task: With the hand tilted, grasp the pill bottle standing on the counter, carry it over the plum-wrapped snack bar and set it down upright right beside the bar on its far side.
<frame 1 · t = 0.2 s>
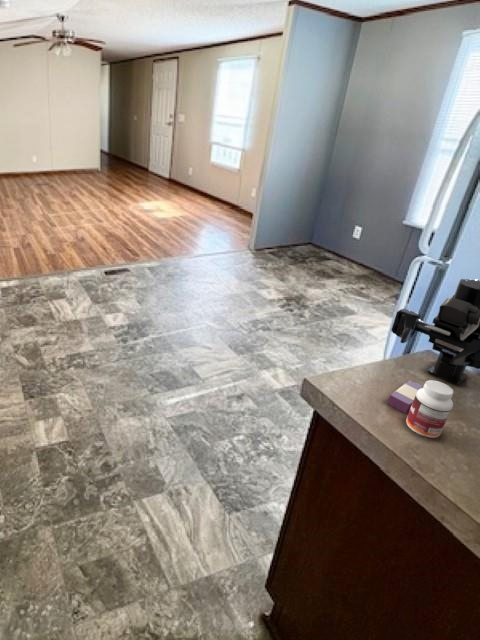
hand: (425, 350, 89), 17 cm above the countertop, tool horizontal, fingers open, 9 cm apart
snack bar: (406, 400, 99), on the countertop
pill bottle: (422, 428, 91), on the countertop
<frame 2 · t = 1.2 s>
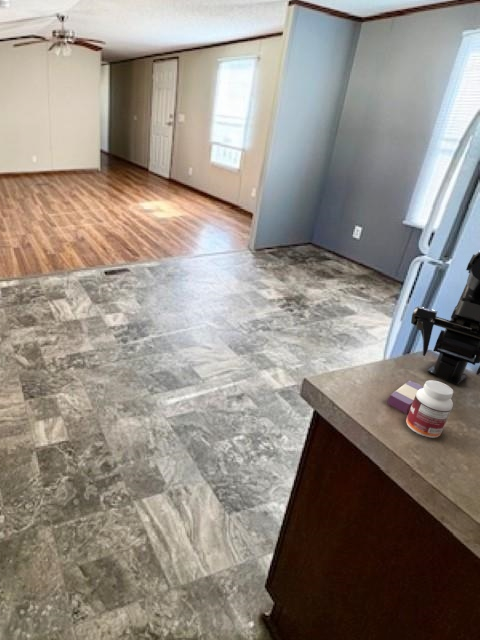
hand: (449, 364, 90), 13 cm above the countertop, tool tilted 45°, fingers open, 9 cm apart
nothing on the countertop moved.
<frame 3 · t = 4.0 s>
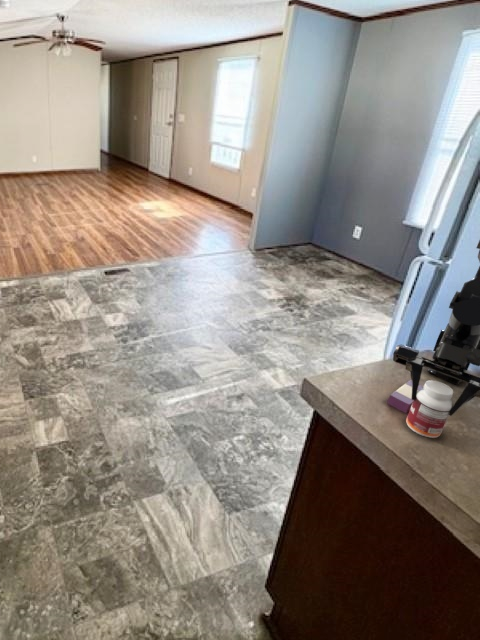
hand: (430, 407, 87), 7 cm above the countertop, tool tilted 45°, fingers closed on pill bottle, 6 cm apart
pill bottle: (422, 428, 91), on the countertop, touching gripper
everything else where it was.
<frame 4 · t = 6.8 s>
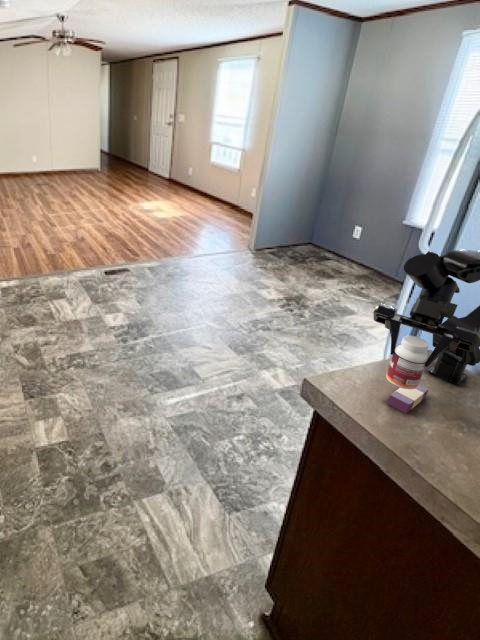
hand: (408, 360, 93), 12 cm above the countertop, tool tilted 45°, fingers closed on pill bottle, 6 cm apart
pill bottle: (400, 382, 97), point 6 cm above the countertop, touching gripper
everything else where it was.
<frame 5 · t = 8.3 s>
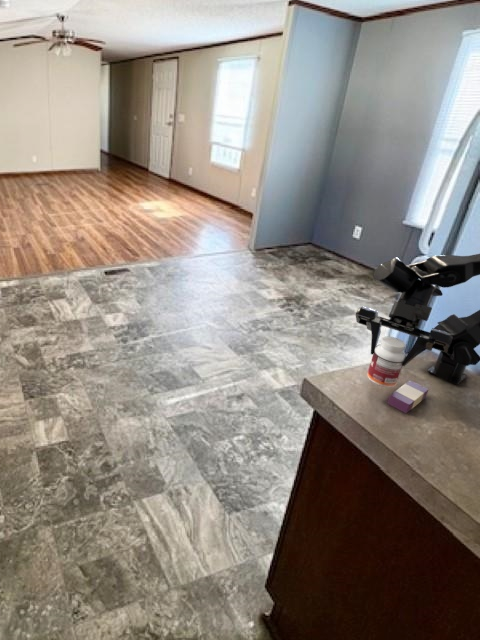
hand: (386, 359, 99), 9 cm above the countertop, tool tilted 45°, fingers closed on pill bottle, 6 cm apart
pill bottle: (380, 380, 102), point 2 cm above the countertop, touching gripper
everything else where it was.
when the fingers open (7 cm above the countertop, at t = 9.6 s): pill bottle stays where it is, on the countertop.
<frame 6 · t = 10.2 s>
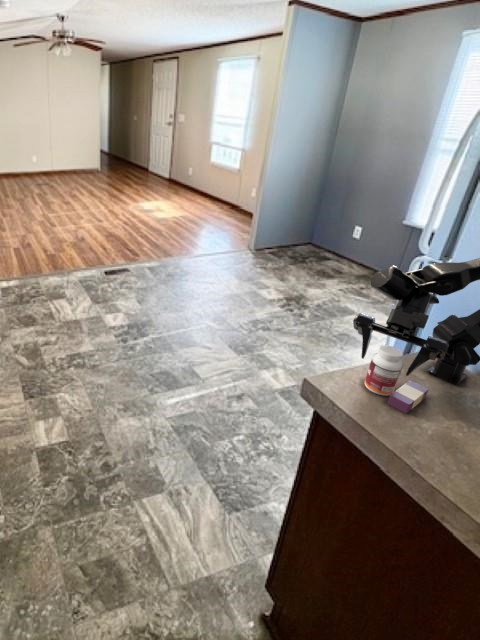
hand: (383, 366, 99), 7 cm above the countertop, tool tilted 45°, fingers open, 9 cm apart
pill bottle: (377, 388, 103), on the countertop
everything else where it was.
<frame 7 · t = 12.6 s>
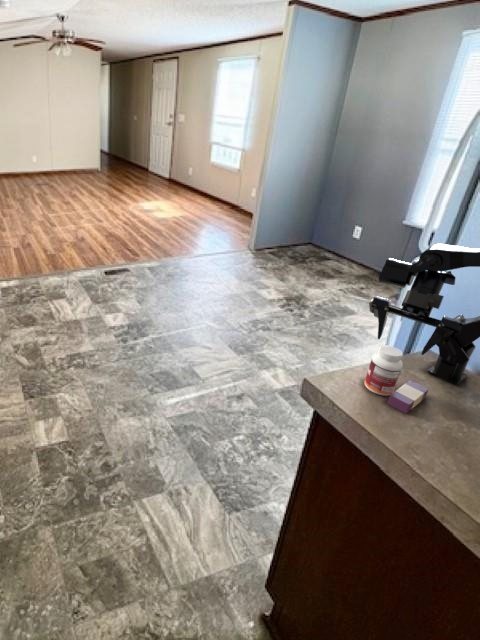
hand: (399, 346, 103), 9 cm above the countertop, tool tilted 45°, fingers open, 9 cm apart
nothing on the countertop moved.
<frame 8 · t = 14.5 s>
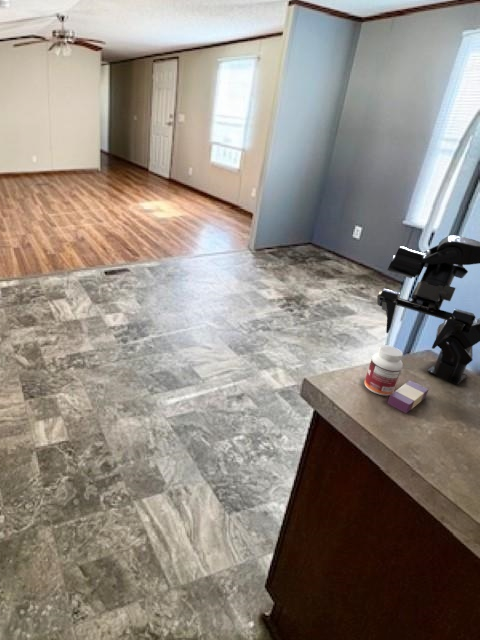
hand: (409, 340, 100), 13 cm above the countertop, tool tilted 45°, fingers open, 9 cm apart
nothing on the countertop moved.
at the end: pill bottle 5.9 cm from the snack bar (horizontally); pill bottle tilted 0°; the gripper is holding nothing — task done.
